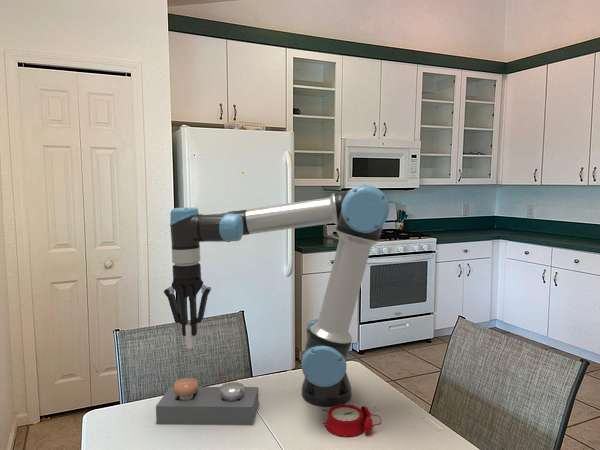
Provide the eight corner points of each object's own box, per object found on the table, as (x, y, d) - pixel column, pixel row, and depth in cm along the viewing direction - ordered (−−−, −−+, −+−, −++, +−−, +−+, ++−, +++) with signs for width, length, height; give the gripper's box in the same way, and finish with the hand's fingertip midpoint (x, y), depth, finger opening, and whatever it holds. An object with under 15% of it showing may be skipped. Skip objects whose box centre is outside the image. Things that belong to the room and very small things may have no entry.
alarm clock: (320, 404, 123) (374, 392, 123) (326, 425, 124) (379, 414, 123) (321, 424, 113) (380, 411, 112) (327, 447, 113) (385, 434, 113)
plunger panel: (258, 403, 131) (258, 387, 131) (252, 425, 119) (252, 406, 119) (171, 402, 132) (170, 386, 132) (156, 424, 120) (155, 406, 120)
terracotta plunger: (200, 402, 129) (200, 377, 128) (194, 413, 123) (194, 387, 122) (179, 402, 129) (178, 377, 129) (171, 413, 123) (170, 387, 122)
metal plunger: (245, 407, 129) (245, 382, 128) (242, 418, 122) (241, 392, 122) (223, 406, 129) (223, 382, 128) (218, 418, 123) (218, 392, 122)
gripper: (212, 260, 127) (216, 341, 129) (167, 261, 127) (171, 342, 129) (206, 265, 120) (210, 351, 121) (158, 266, 120) (162, 352, 122)
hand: (190, 346), depth 125 cm, fingers closed
